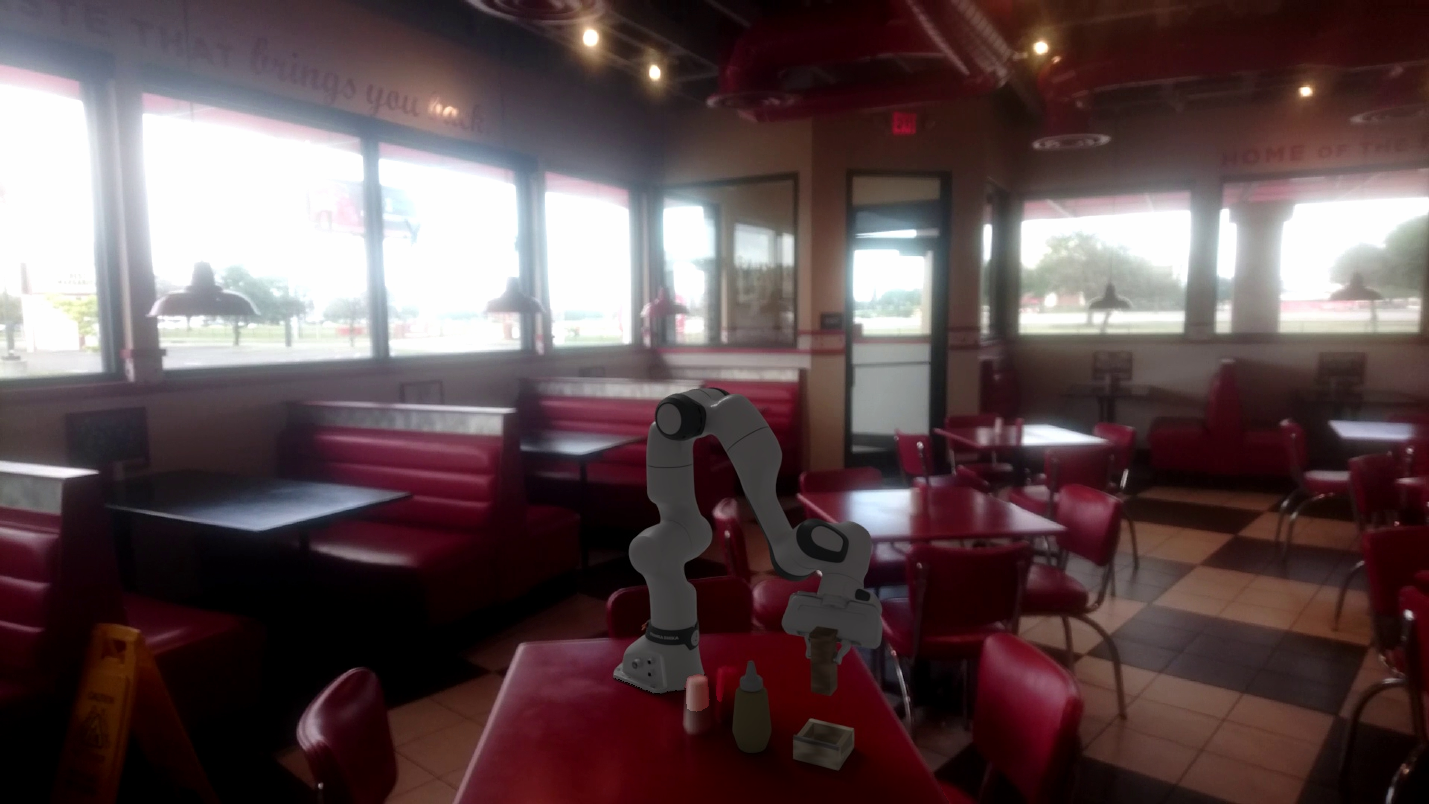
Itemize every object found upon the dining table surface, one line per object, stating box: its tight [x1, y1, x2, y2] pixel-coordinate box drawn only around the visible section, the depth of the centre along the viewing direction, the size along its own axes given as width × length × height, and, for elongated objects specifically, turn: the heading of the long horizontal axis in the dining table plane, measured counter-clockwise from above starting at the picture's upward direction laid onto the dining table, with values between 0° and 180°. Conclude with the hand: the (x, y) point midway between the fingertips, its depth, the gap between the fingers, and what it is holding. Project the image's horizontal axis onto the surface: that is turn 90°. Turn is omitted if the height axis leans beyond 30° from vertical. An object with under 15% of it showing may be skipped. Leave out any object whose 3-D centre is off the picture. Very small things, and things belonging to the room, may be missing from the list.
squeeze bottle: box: [731, 660, 772, 754], centre depth 165 cm, size 8×8×18 cm
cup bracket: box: [792, 718, 855, 771], centre depth 163 cm, size 9×9×5 cm
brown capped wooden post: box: [809, 626, 838, 697], centre depth 161 cm, size 4×4×12 cm
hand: (822, 660), depth 160 cm, fingers closed on brown capped wooden post, 4 cm apart
